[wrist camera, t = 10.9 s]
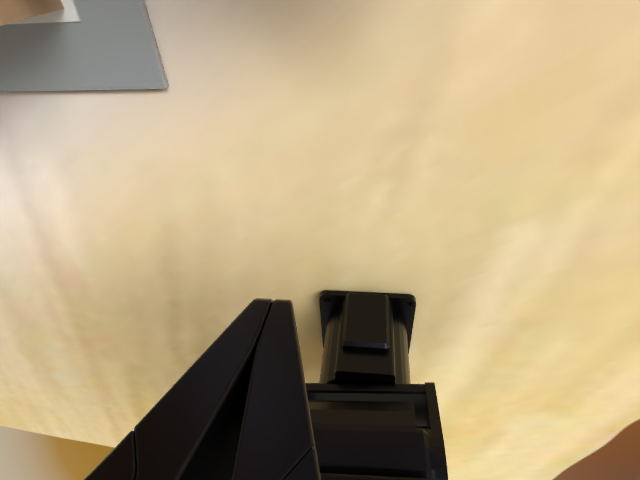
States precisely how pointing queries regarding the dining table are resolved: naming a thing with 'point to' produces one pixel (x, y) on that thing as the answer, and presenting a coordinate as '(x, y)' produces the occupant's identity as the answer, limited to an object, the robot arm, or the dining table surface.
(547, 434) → the dining table surface
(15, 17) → the walnut base
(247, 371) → the robot arm
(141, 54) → the build board
